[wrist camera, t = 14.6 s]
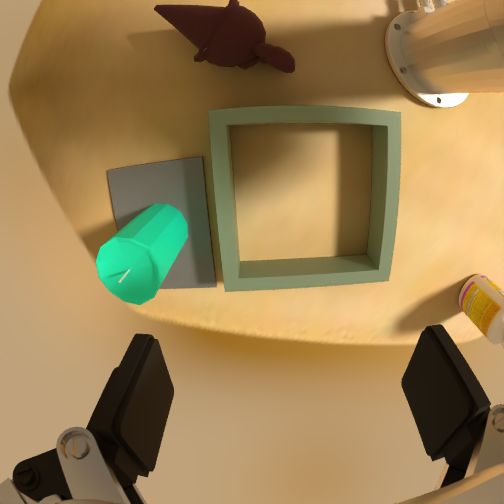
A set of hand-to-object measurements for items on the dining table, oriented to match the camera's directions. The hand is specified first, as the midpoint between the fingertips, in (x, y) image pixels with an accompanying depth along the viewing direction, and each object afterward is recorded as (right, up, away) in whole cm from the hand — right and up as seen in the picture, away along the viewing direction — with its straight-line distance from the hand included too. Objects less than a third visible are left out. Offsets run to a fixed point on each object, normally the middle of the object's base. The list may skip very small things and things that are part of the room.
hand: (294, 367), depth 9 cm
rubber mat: (-12, +6, +22) cm, 26 cm away
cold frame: (+4, +10, +21) cm, 23 cm away
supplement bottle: (+33, -2, +26) cm, 42 cm away
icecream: (-4, +25, +15) cm, 29 cm away
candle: (-11, +6, +22) cm, 26 cm away
